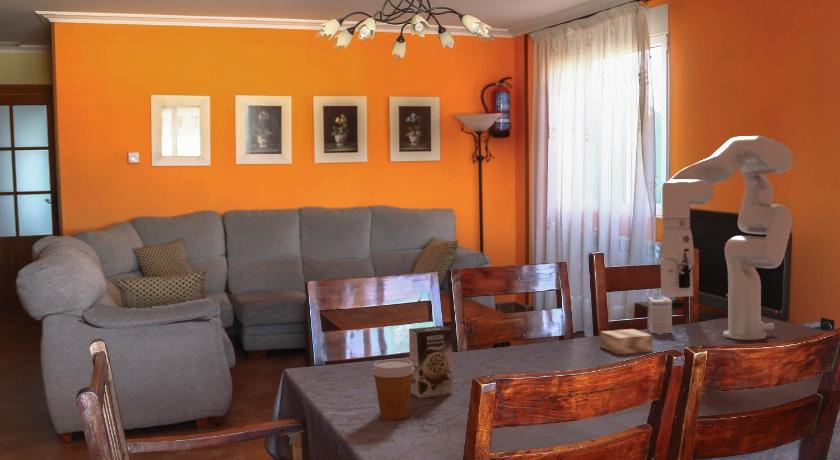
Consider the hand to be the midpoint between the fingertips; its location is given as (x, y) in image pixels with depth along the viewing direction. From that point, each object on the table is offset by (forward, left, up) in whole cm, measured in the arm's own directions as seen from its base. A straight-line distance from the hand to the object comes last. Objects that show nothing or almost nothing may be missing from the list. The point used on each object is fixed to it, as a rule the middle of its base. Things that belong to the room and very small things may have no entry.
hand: (676, 285), depth 242 cm
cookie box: (+78, +17, -20) cm, 82 cm away
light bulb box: (-13, -31, -20) cm, 39 cm away
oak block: (+10, -11, -20) cm, 25 cm away
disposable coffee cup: (+91, +33, -20) cm, 99 cm away
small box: (0, 0, -3) cm, 3 cm away
